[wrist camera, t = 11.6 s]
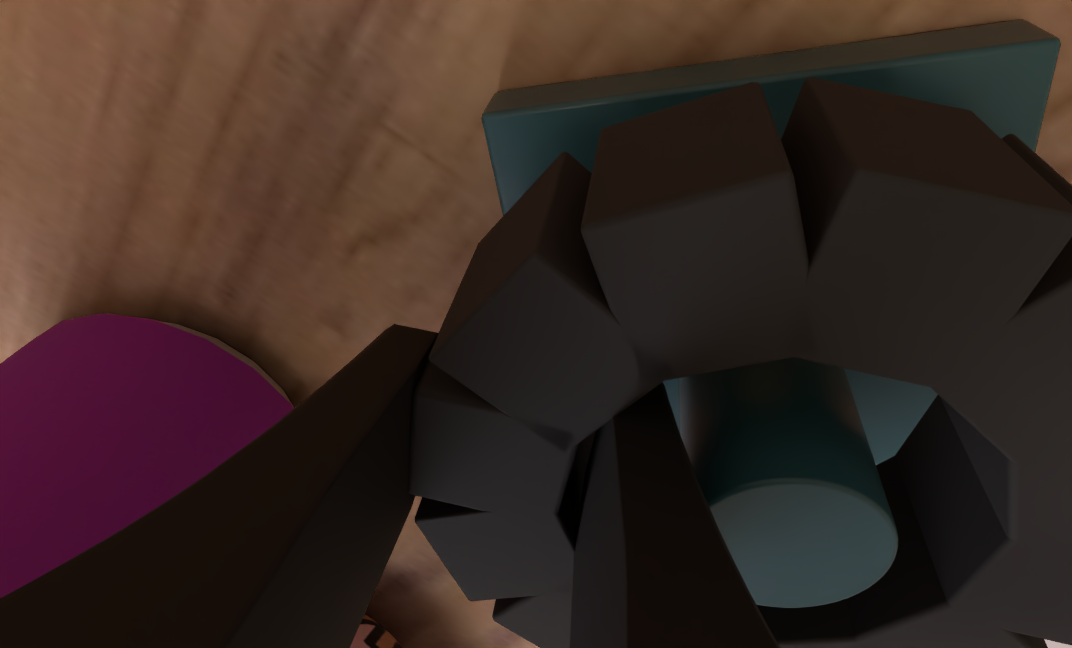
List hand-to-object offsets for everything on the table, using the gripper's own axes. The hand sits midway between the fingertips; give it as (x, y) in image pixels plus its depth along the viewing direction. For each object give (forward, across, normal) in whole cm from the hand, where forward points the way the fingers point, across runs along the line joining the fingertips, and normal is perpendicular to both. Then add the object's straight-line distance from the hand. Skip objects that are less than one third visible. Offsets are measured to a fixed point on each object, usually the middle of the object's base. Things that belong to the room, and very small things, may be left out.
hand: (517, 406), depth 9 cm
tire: (+1, -3, 0) cm, 4 cm away
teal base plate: (+5, -4, 0) cm, 6 cm away
